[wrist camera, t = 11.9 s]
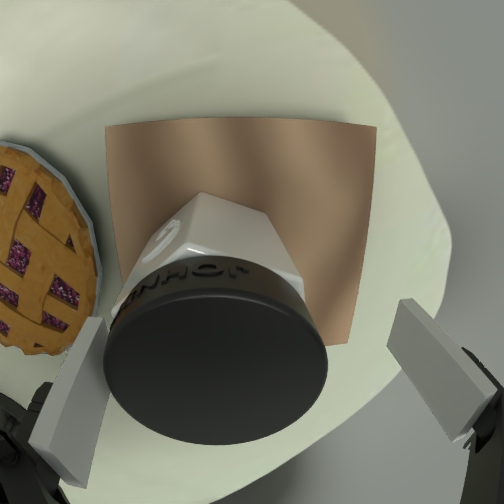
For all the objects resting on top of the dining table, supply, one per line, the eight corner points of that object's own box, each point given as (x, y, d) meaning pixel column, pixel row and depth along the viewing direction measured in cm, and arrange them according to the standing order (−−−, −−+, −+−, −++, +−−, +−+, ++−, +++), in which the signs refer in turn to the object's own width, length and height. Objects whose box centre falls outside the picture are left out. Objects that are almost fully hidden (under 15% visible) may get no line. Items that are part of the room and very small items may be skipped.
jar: (225, 165, 19) (236, 218, 8) (300, 255, 21) (374, 376, 10) (128, 253, 20) (57, 376, 9) (207, 326, 23) (206, 465, 12)
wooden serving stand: (149, 321, 28) (139, 355, 23) (126, 127, 21) (105, 127, 17) (330, 312, 30) (347, 343, 25) (348, 126, 23) (376, 126, 18)
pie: (85, 364, 30) (72, 394, 25) (-46, 280, 24) (-68, 299, 19) (149, 196, 24) (133, 211, 19) (-21, 110, 18) (-53, 112, 13)
